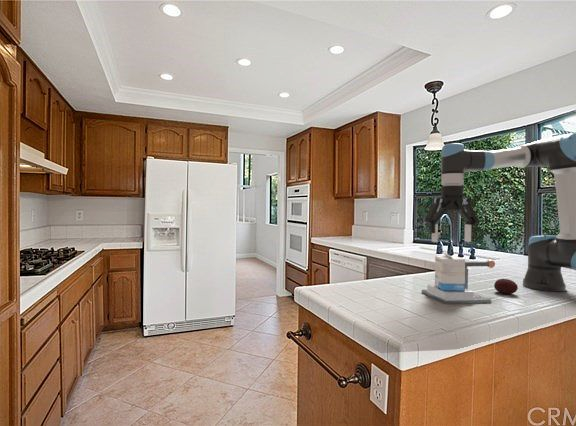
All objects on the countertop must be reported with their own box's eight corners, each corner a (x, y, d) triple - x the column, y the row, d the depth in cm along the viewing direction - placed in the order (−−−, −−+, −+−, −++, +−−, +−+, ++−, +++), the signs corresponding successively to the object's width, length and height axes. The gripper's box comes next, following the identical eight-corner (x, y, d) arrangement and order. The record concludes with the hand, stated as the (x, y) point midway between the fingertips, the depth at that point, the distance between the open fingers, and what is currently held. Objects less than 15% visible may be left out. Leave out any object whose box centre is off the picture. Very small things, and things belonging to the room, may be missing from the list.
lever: (490, 266, 138) (490, 259, 138) (497, 268, 134) (497, 260, 134) (455, 267, 136) (455, 259, 136) (461, 269, 132) (461, 261, 132)
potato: (504, 296, 131) (505, 281, 131) (489, 291, 139) (489, 277, 139) (521, 296, 132) (521, 281, 132) (504, 290, 140) (505, 276, 140)
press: (462, 291, 138) (463, 266, 137) (491, 302, 122) (491, 274, 122) (421, 292, 135) (422, 266, 135) (445, 304, 119) (446, 274, 119)
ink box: (465, 291, 121) (466, 254, 121) (441, 290, 122) (442, 254, 122) (456, 285, 130) (457, 251, 129) (434, 285, 131) (434, 251, 130)
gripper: (475, 186, 131) (474, 240, 131) (415, 185, 127) (415, 241, 128) (489, 185, 123) (488, 242, 124) (426, 184, 120) (425, 243, 120)
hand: (451, 241), depth 126 cm, fingers open, 13 cm apart
